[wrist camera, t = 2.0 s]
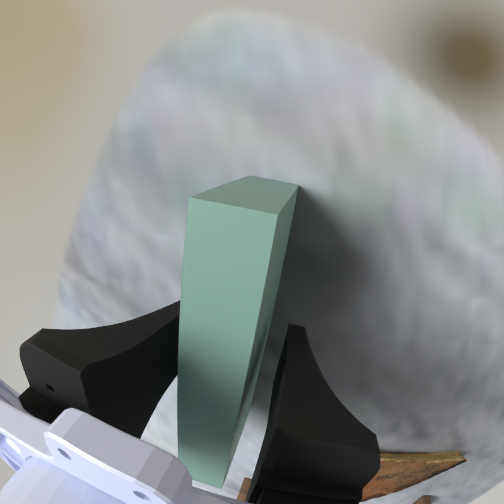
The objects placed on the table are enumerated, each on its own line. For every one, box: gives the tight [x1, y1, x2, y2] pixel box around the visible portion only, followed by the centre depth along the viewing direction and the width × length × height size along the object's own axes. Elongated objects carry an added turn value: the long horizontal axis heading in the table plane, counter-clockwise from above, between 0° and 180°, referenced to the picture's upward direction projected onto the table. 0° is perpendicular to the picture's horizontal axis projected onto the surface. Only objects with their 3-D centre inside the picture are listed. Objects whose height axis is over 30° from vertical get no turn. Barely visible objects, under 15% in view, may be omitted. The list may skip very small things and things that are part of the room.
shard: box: [360, 451, 467, 502], centre depth 16 cm, size 11×8×2 cm
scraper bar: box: [177, 176, 299, 489], centre depth 12 cm, size 12×2×6 cm, turn 171°
